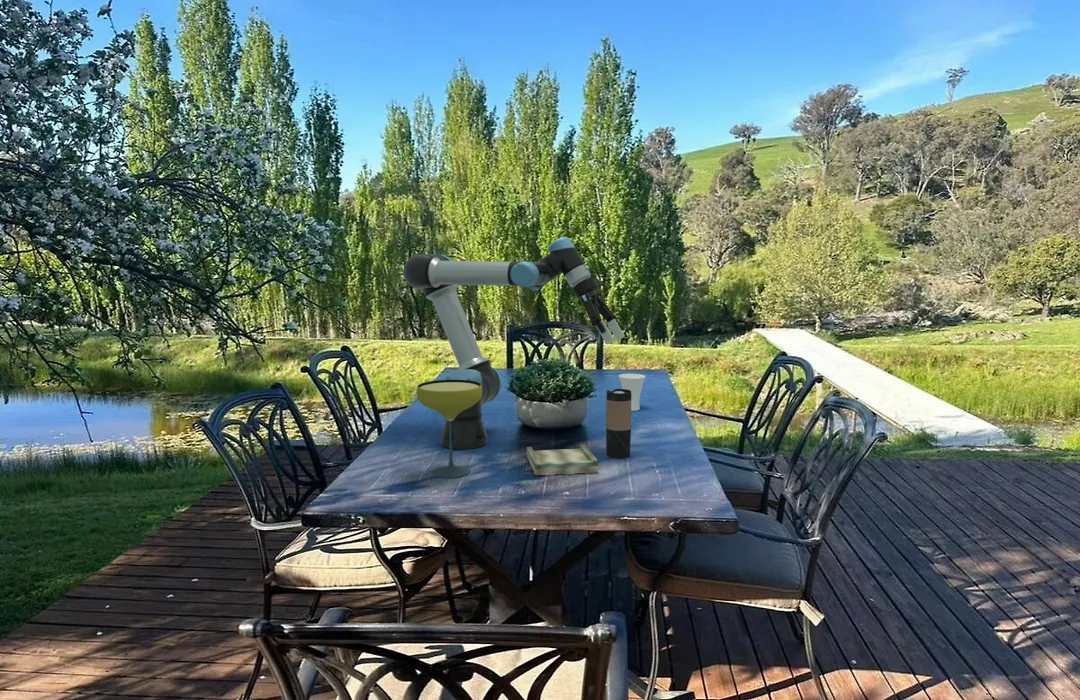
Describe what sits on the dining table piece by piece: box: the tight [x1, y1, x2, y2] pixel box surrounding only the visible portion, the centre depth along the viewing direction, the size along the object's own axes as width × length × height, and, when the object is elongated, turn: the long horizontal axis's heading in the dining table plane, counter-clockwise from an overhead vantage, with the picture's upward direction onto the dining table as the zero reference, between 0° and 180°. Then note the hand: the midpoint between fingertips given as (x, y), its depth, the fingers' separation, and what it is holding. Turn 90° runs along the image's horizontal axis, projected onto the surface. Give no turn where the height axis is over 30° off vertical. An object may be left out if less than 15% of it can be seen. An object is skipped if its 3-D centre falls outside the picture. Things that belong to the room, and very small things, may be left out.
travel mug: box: [605, 388, 632, 459], centre depth 209 cm, size 8×8×20 cm
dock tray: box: [526, 444, 600, 476], centre depth 201 cm, size 18×18×3 cm
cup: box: [618, 373, 646, 412], centre depth 273 cm, size 10×10×14 cm
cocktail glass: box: [416, 379, 482, 479], centre depth 193 cm, size 18×18×25 cm
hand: (615, 340), depth 216 cm, fingers open, 13 cm apart
